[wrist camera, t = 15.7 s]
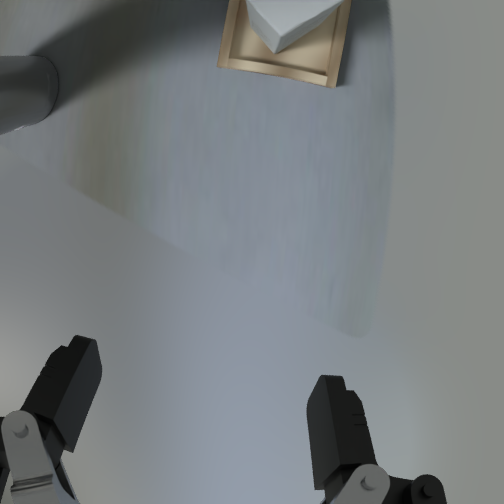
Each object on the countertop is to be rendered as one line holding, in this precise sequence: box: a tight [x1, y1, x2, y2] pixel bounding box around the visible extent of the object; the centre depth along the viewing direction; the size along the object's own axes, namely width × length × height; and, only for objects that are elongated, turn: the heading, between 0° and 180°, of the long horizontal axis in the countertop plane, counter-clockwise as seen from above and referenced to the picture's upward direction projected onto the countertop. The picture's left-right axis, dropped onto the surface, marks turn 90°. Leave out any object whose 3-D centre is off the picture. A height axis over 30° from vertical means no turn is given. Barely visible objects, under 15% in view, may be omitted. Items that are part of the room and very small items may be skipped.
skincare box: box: [246, 0, 344, 54], centre depth 22 cm, size 6×4×12 cm
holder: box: [217, 0, 352, 88], centre depth 27 cm, size 12×12×2 cm
